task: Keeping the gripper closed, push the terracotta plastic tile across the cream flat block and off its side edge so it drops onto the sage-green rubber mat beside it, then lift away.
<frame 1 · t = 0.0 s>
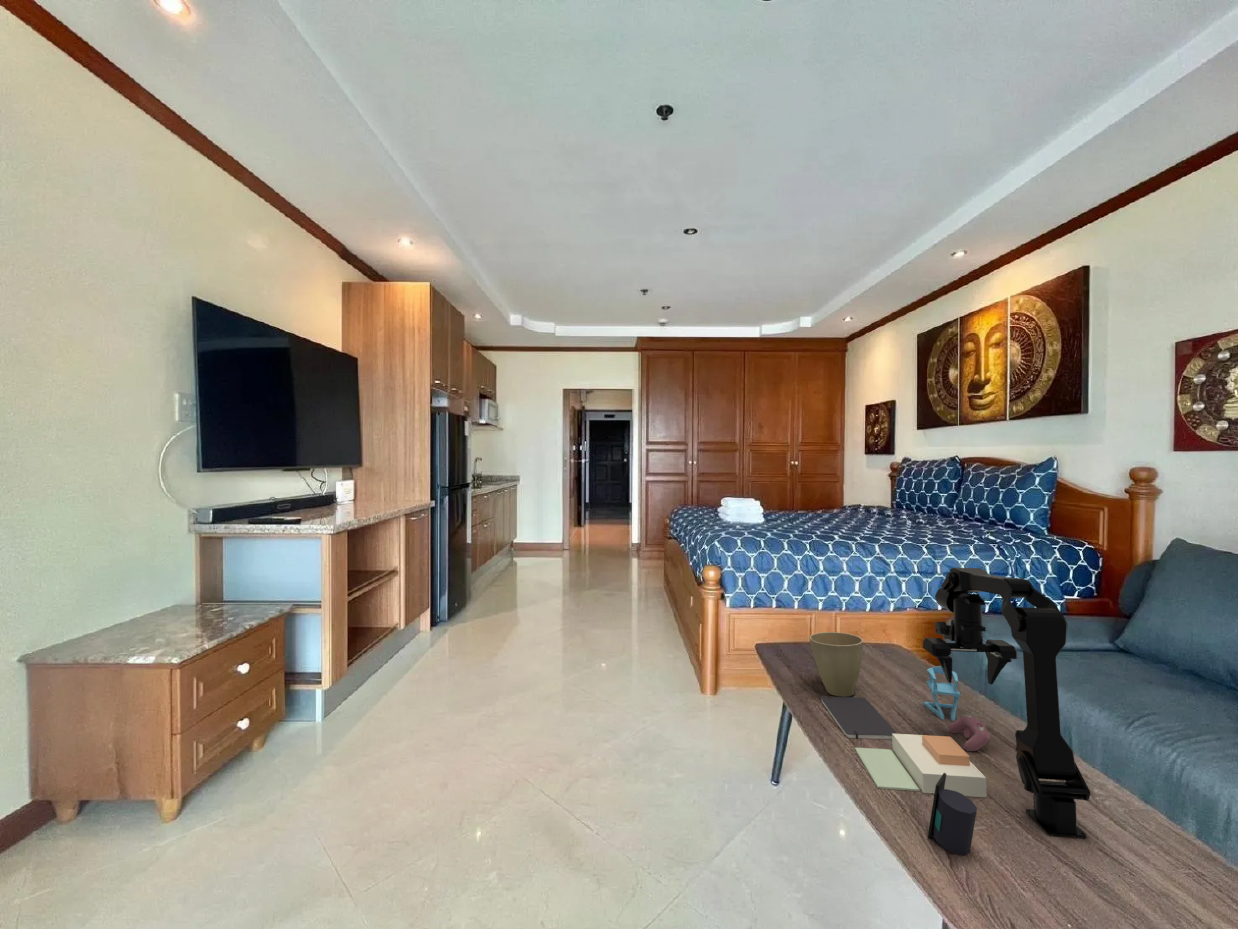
hand: (969, 683, 122), 15 cm above the table, tool pointing down, fingers open, 9 cm apart
cream flat block: (935, 772, 110), on the table
mat: (884, 768, 112), on the table
speaker: (953, 843, 90), on the table
chair: (943, 713, 137), on the table
tile: (945, 754, 110), point 4 cm above the table, touching cream flat block
plant pot: (840, 692, 150), on the table
video game controller: (969, 743, 122), on the table
notebook: (856, 720, 135), on the table
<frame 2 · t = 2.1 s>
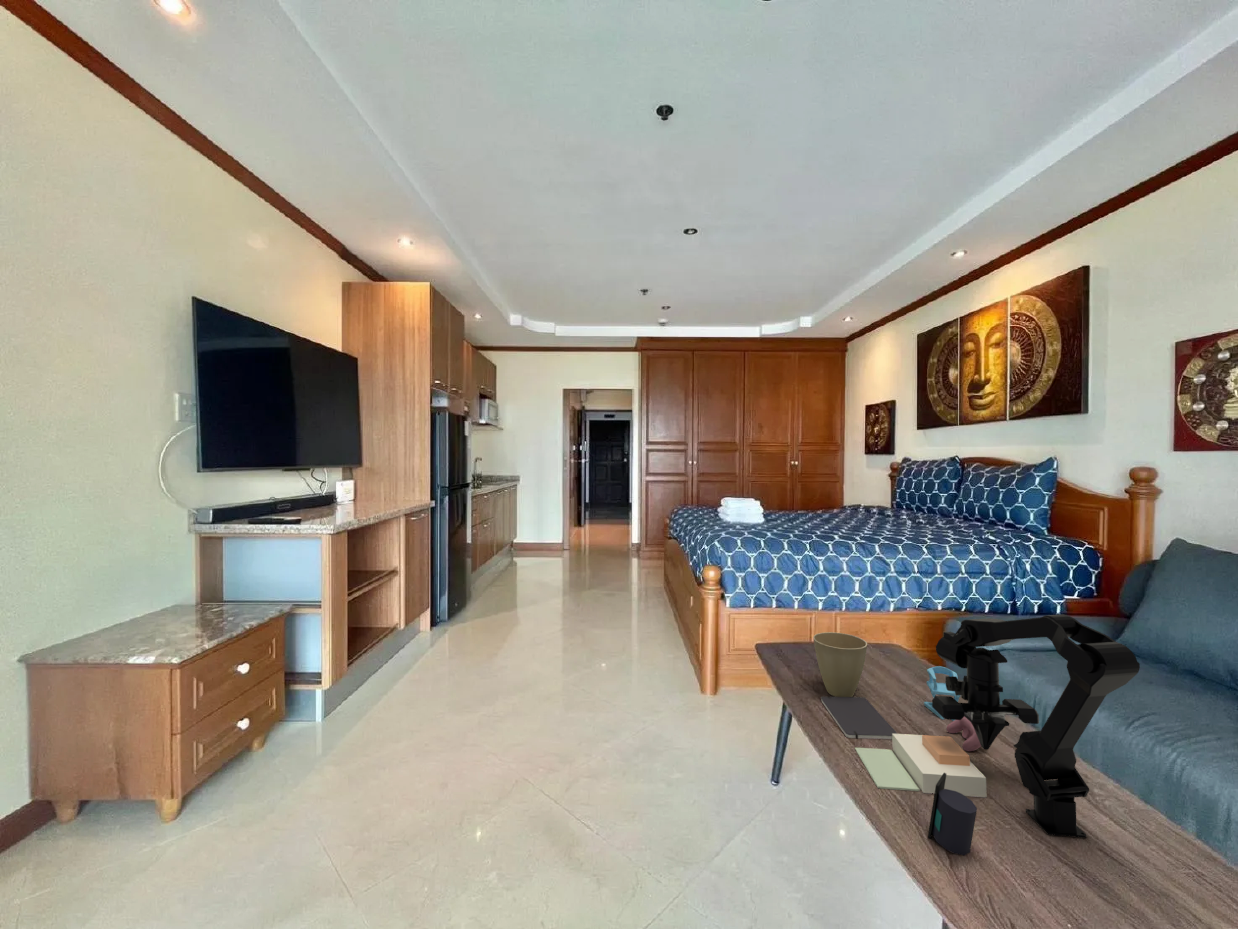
hand: (984, 748, 109), 6 cm above the table, tool pointing down, fingers closed
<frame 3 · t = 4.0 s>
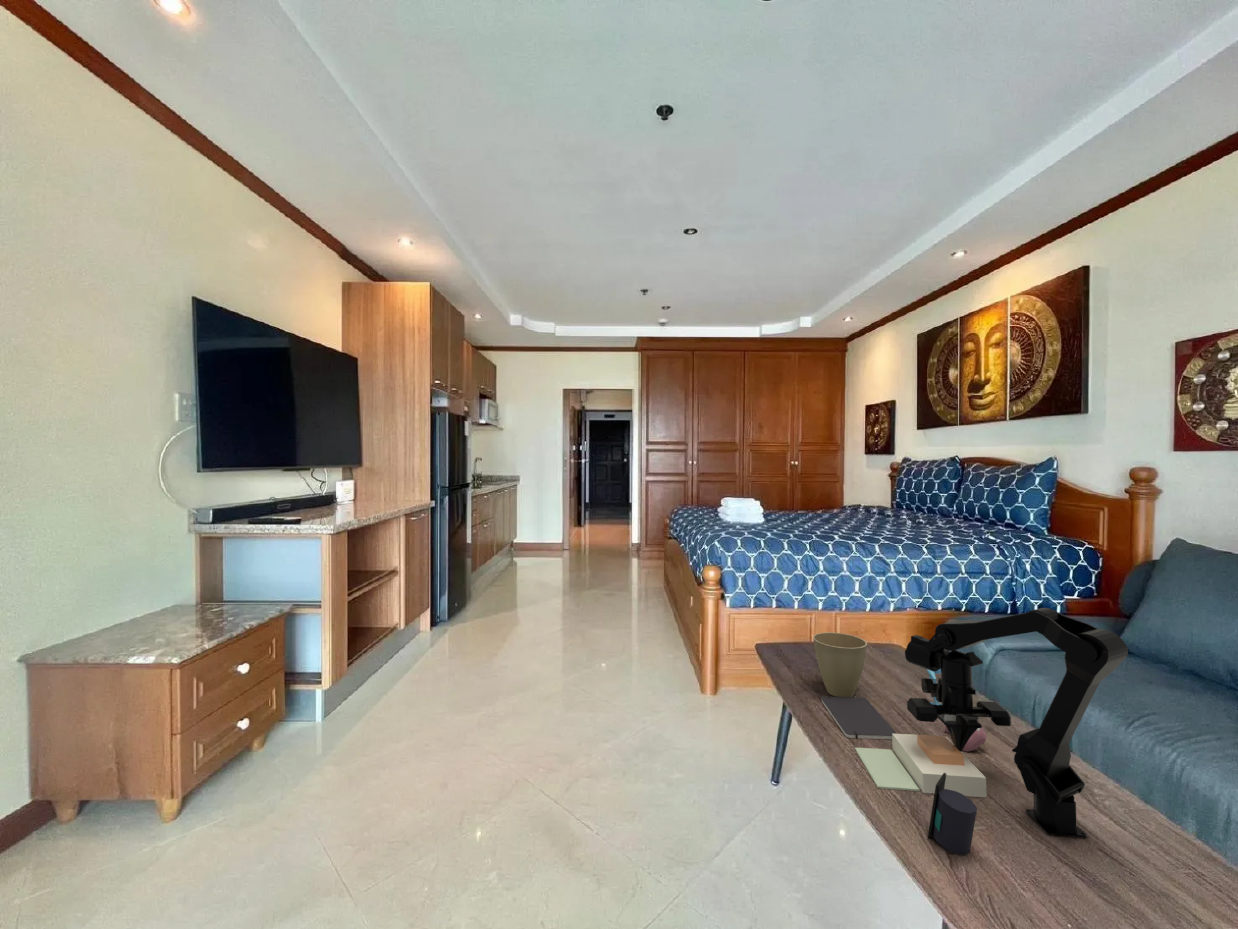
hand: (958, 750, 110), 5 cm above the table, tool pointing down, fingers closed
tile: (939, 754, 110), point 4 cm above the table, touching cream flat block, gripper
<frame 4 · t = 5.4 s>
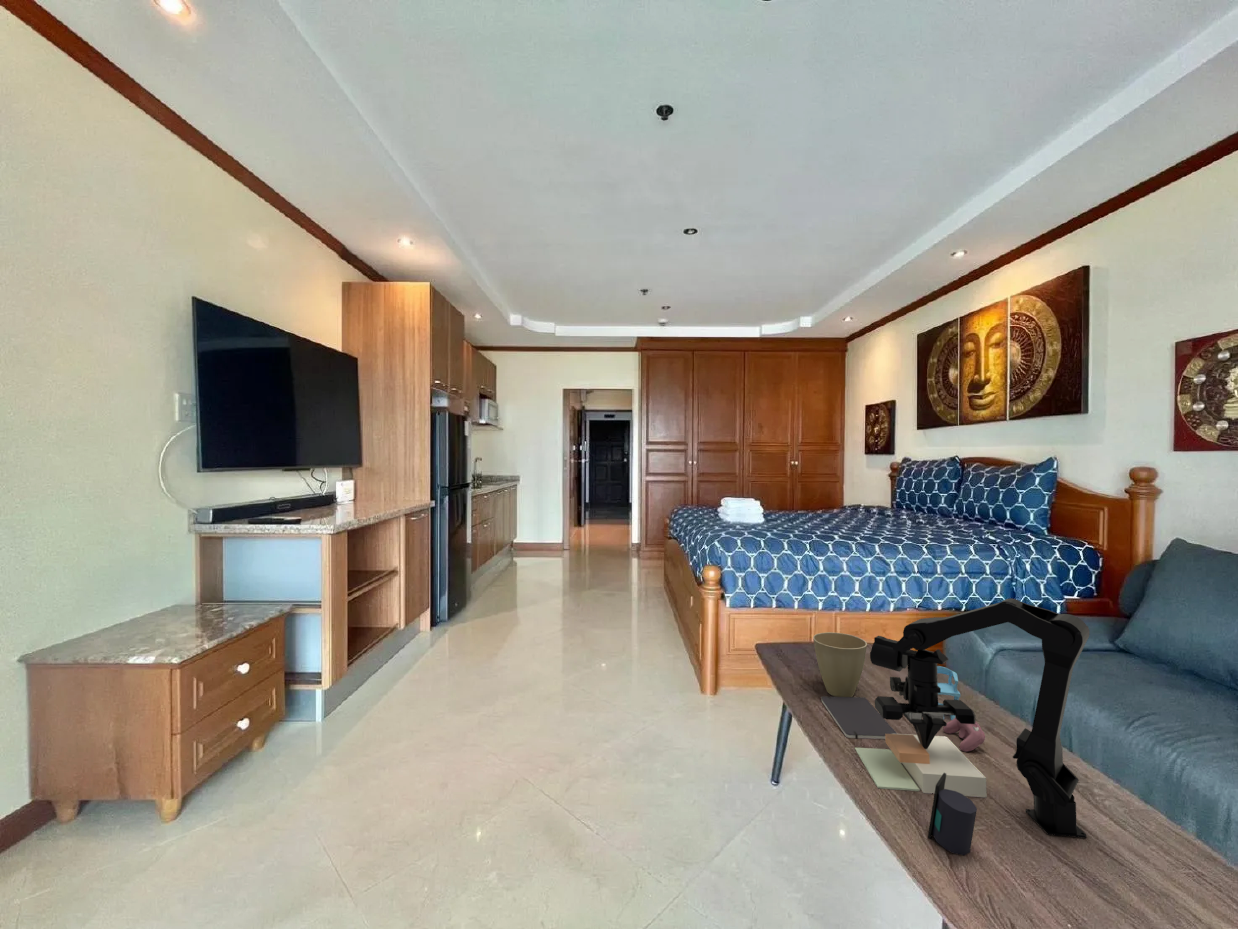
hand: (924, 748, 111), 5 cm above the table, tool pointing down, fingers closed
tile: (906, 752, 111), point 4 cm above the table, touching gripper
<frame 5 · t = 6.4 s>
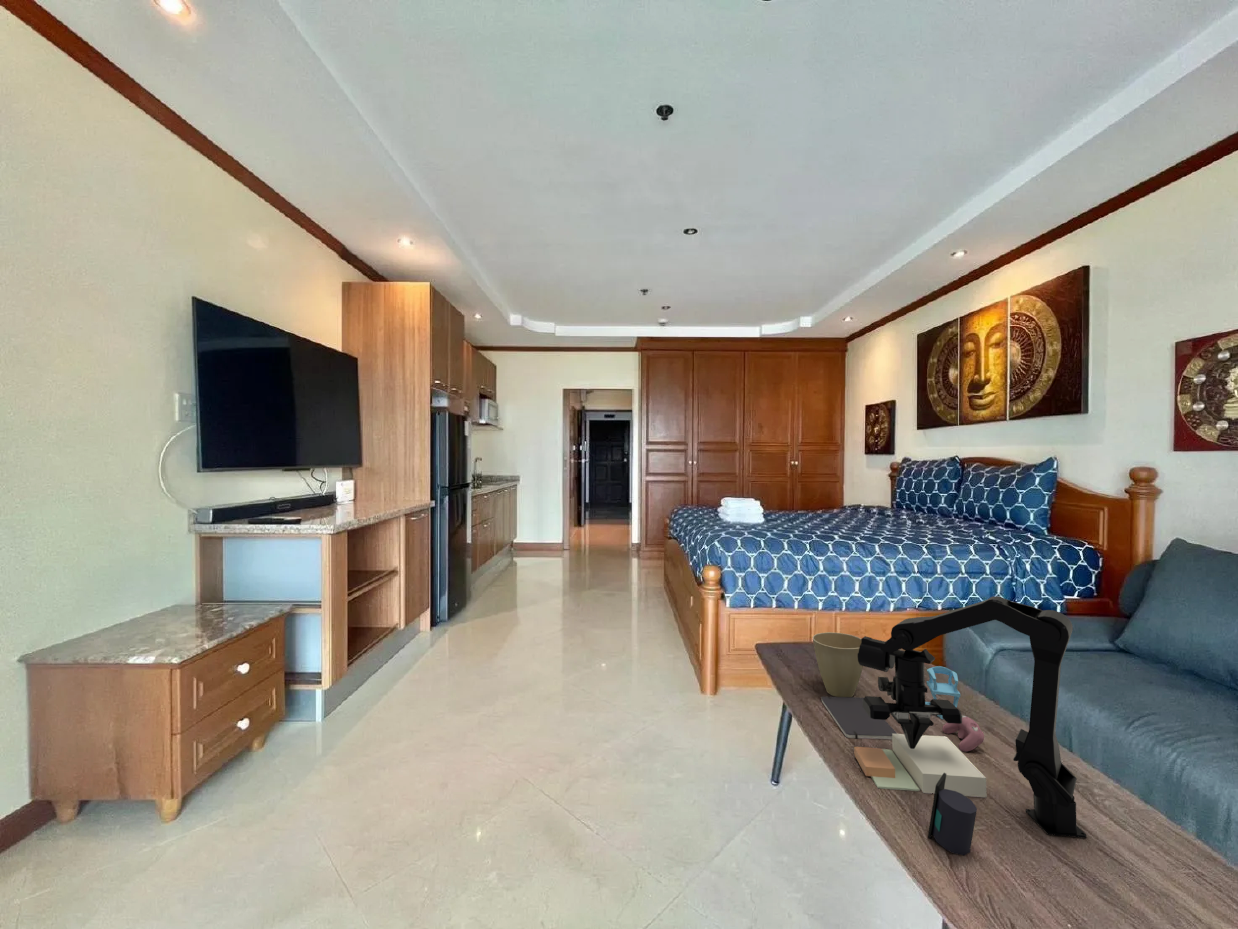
hand: (911, 747, 111), 5 cm above the table, tool pointing down, fingers closed
tile: (873, 757, 112), point 2 cm above the table, tilted 180°, touching mat
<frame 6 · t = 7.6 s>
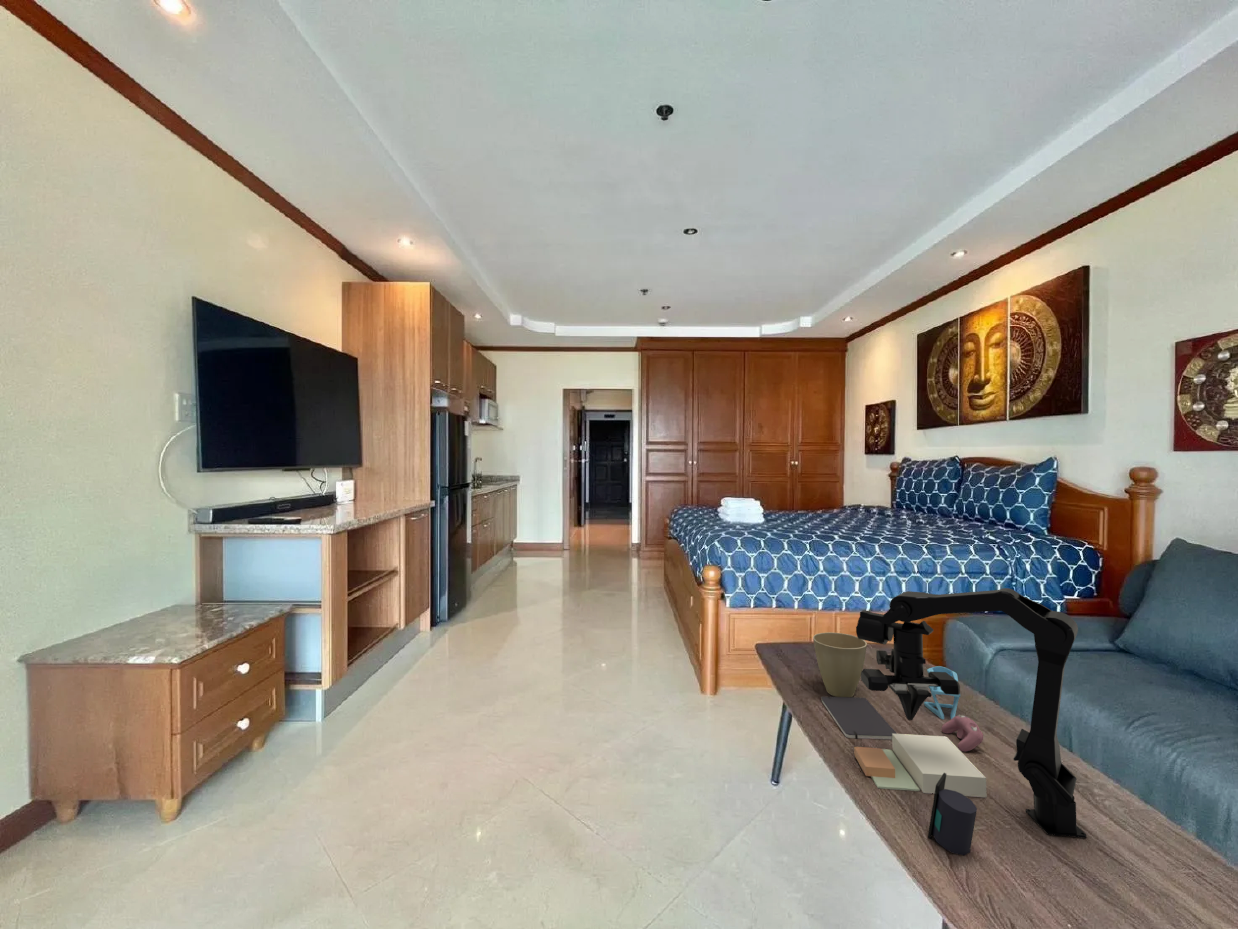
hand: (909, 719, 111), 11 cm above the table, tool pointing down, fingers closed
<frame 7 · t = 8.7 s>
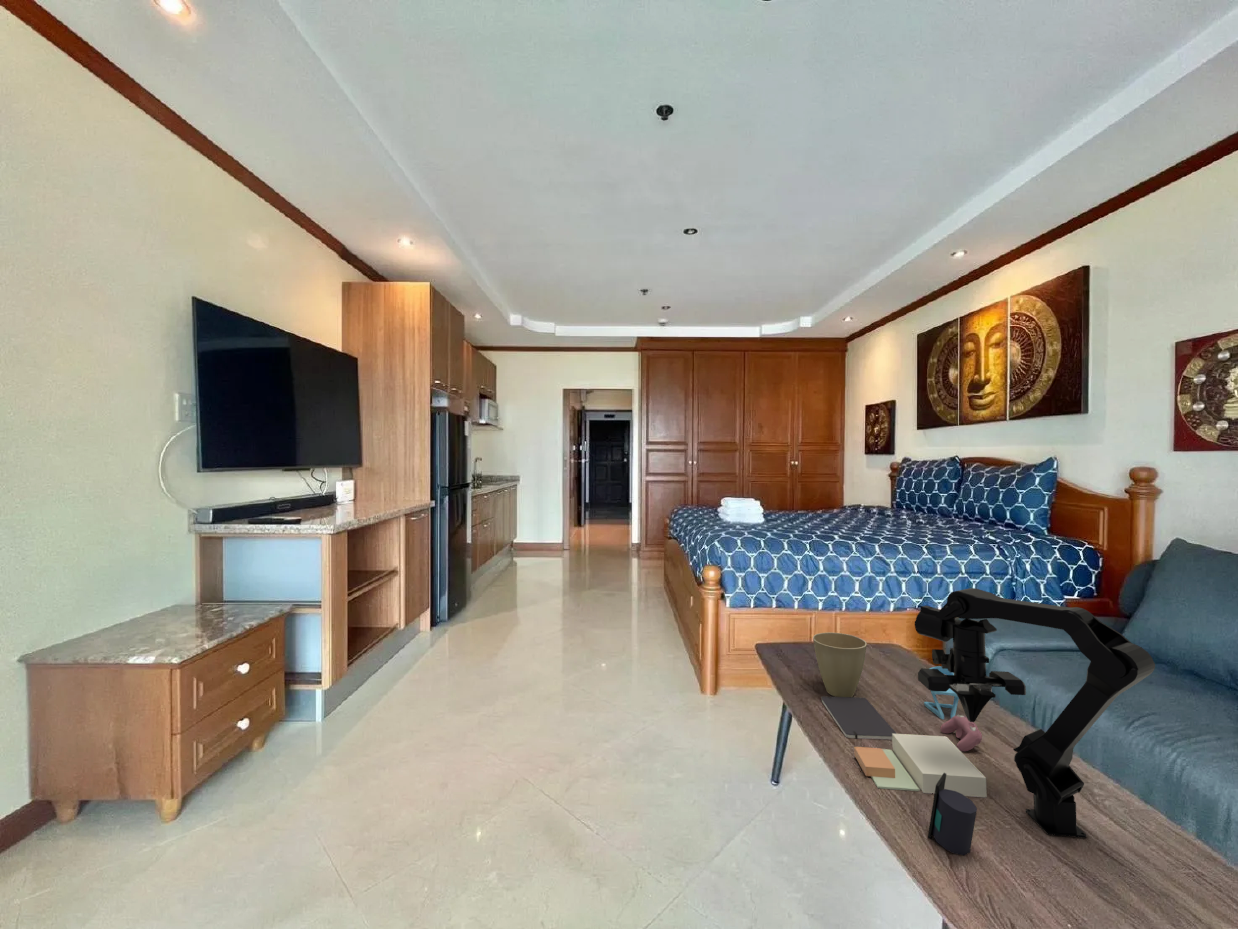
hand: (971, 721, 107), 13 cm above the table, tool pointing down, fingers closed
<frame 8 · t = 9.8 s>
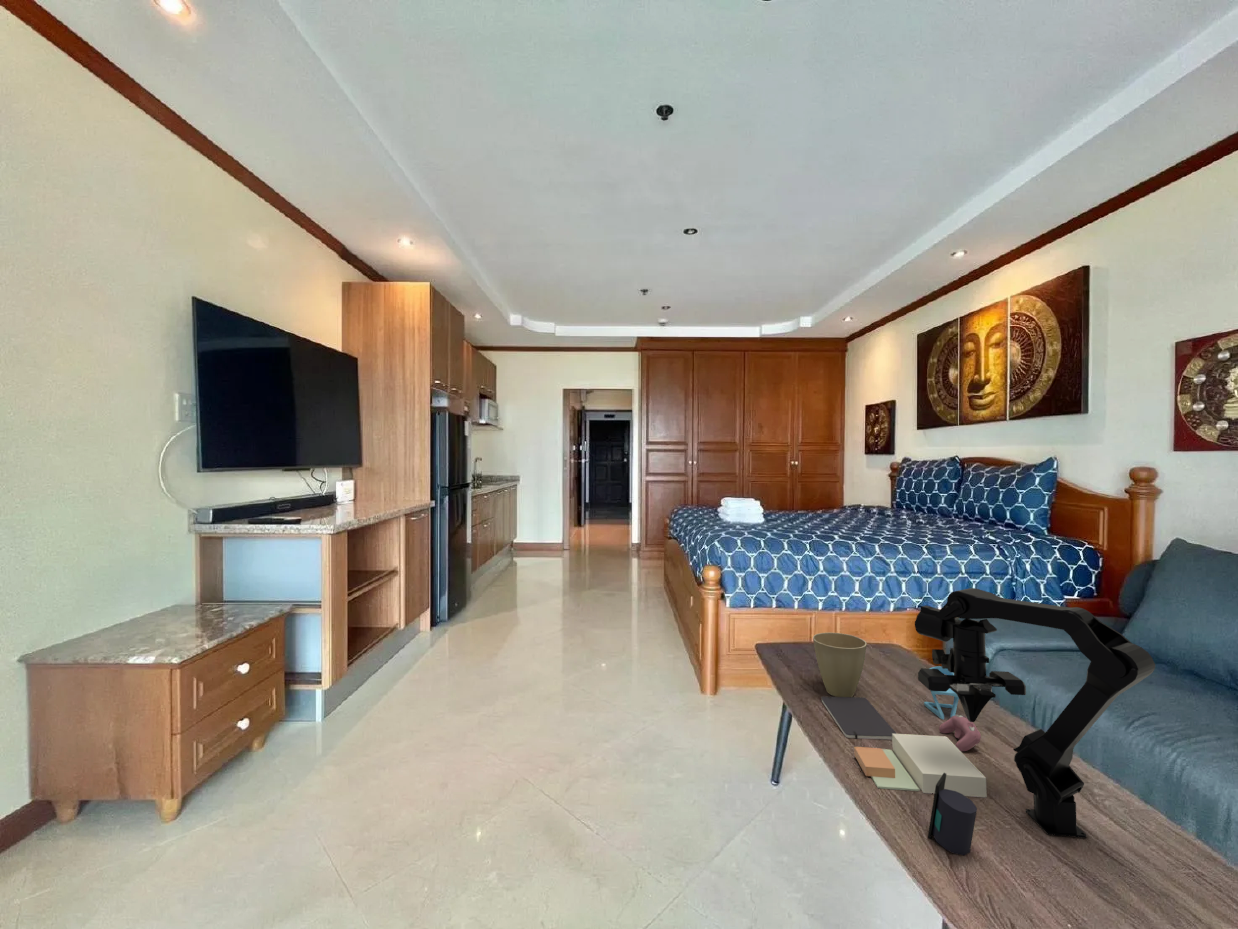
hand: (971, 721, 107), 13 cm above the table, tool pointing down, fingers closed
at the end: tile inside the target area (1.9 cm from its centre), point 2.4 cm above the table; tile touching mat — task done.
